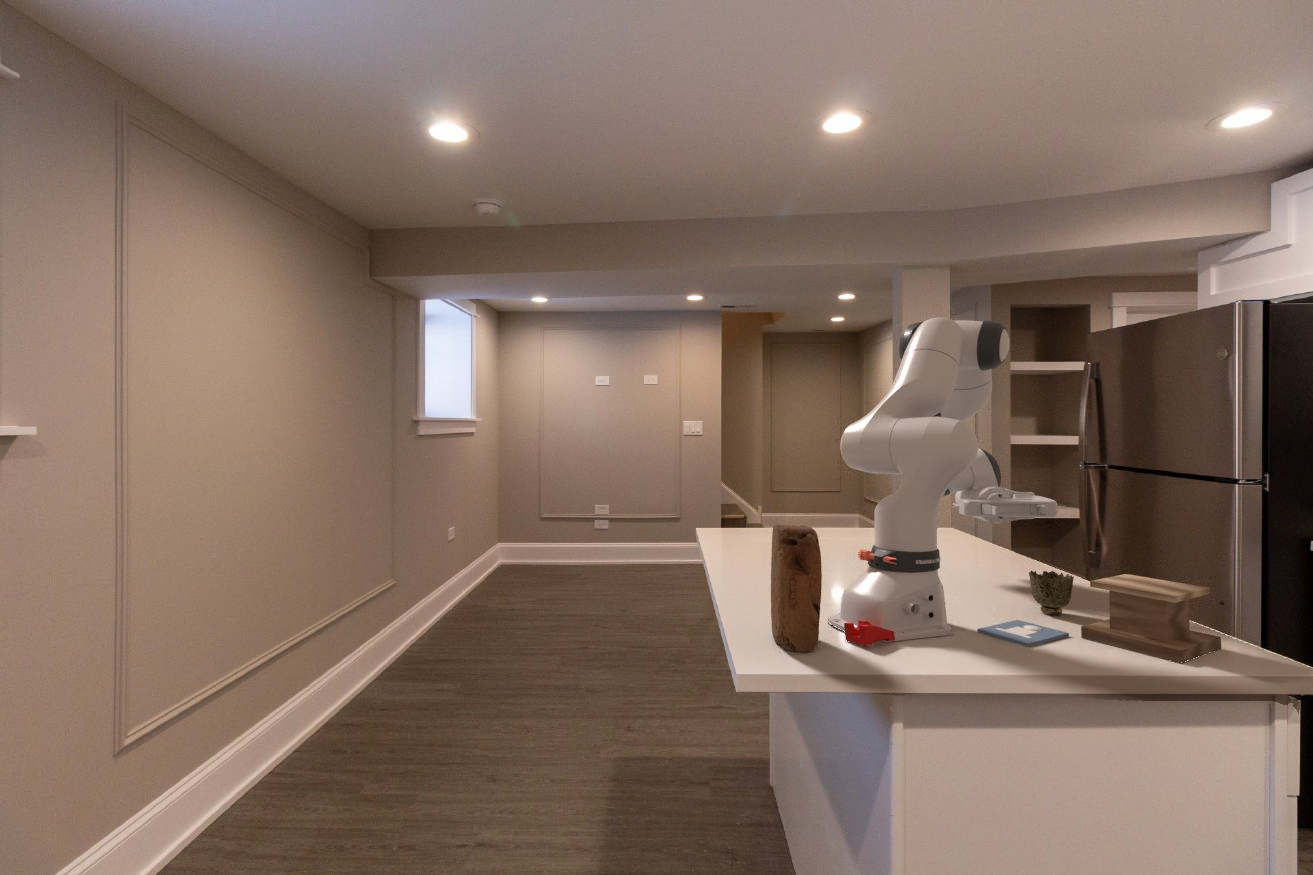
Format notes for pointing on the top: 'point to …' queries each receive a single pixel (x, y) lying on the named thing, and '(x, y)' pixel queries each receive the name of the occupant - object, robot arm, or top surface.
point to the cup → (1051, 591)
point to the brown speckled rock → (795, 587)
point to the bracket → (867, 633)
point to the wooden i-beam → (1151, 618)
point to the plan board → (1023, 633)
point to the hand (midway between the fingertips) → (1021, 511)
